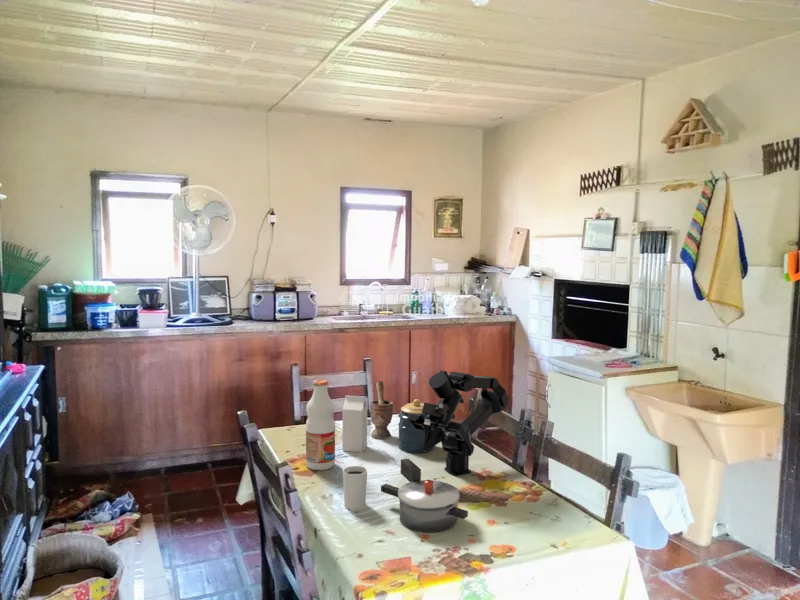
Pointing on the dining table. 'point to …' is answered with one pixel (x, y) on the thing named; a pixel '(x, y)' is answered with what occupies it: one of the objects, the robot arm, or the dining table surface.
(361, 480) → the white cup
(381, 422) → the mortar and pestle
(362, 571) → the dining table surface
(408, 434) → the canister
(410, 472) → the lid
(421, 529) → the pot
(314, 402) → the fruit juice
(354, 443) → the milk carton
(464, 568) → the dining table surface
